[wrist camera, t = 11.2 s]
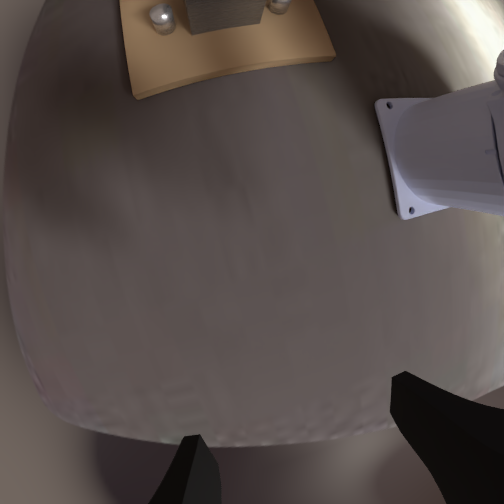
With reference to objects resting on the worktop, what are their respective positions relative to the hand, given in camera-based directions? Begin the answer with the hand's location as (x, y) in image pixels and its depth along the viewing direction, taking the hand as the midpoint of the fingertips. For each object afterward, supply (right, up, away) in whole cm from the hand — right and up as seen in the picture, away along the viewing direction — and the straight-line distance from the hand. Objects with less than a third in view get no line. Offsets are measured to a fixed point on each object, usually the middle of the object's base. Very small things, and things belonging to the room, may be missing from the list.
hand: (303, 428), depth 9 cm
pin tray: (-4, +23, +4) cm, 24 cm away
